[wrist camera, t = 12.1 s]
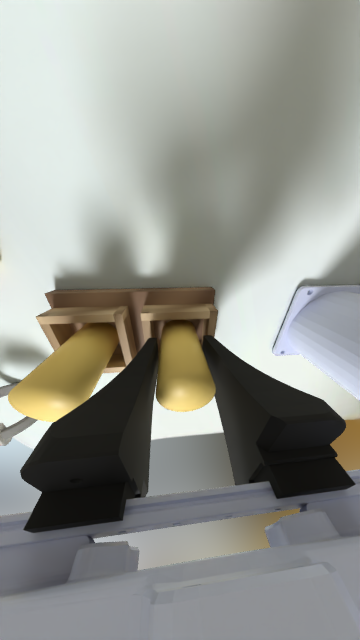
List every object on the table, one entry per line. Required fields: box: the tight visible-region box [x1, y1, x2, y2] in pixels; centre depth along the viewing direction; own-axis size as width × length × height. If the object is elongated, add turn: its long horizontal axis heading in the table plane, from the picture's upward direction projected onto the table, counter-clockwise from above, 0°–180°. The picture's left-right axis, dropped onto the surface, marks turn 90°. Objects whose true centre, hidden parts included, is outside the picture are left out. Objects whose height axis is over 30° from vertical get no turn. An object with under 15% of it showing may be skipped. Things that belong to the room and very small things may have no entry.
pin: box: [8, 322, 119, 422], centre depth 9 cm, size 3×3×6 cm
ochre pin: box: [156, 319, 216, 412], centre depth 10 cm, size 3×3×6 cm
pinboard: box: [36, 287, 218, 373], centre depth 12 cm, size 13×8×3 cm, turn 90°
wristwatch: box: [0, 383, 37, 446], centre depth 13 cm, size 6×3×5 cm, turn 79°
